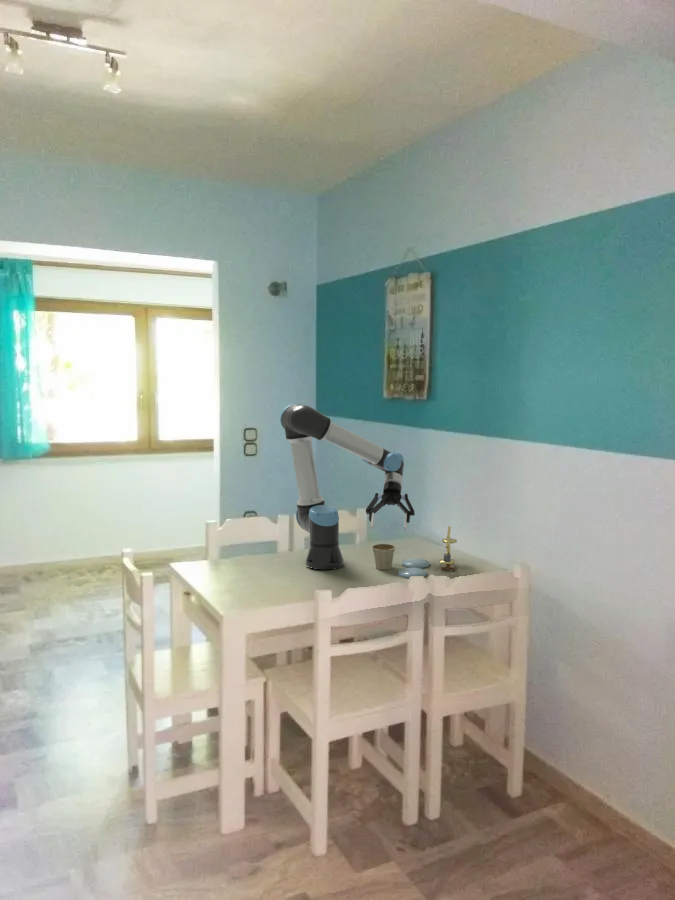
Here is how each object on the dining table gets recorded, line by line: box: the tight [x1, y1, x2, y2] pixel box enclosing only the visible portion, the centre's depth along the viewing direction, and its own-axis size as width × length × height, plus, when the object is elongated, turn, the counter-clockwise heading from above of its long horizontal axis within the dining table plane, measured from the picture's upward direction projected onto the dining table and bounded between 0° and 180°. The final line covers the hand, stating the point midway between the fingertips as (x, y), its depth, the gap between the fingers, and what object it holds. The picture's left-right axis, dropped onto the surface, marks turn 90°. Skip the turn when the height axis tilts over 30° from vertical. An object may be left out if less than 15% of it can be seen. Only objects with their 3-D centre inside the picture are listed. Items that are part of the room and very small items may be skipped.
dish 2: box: [401, 558, 431, 569], centre depth 278 cm, size 11×11×1 cm
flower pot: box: [371, 543, 396, 571], centre depth 274 cm, size 9×9×9 cm
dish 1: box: [397, 567, 428, 579], centre depth 266 cm, size 11×11×1 cm
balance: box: [439, 525, 458, 572], centre depth 272 cm, size 6×21×15 cm, turn 168°
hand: (388, 528), depth 282 cm, fingers open, 13 cm apart
